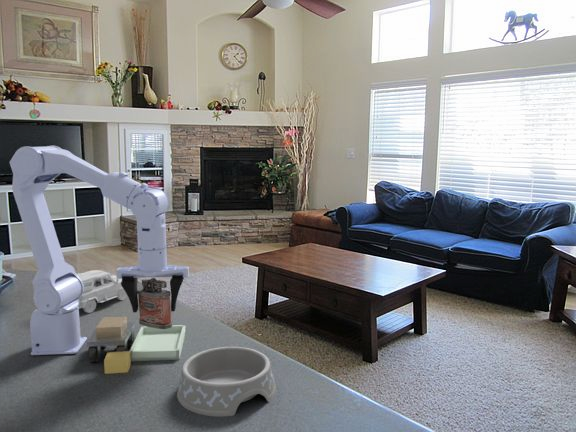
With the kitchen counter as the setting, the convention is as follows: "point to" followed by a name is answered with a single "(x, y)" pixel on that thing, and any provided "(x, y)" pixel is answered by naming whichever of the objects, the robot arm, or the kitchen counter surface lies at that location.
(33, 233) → the robot arm
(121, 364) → the block
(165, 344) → the tray
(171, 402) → the kitchen counter surface
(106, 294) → the toy car
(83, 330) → the kitchen counter surface
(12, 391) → the kitchen counter surface
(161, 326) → the lighter
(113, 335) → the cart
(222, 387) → the dog bowl
